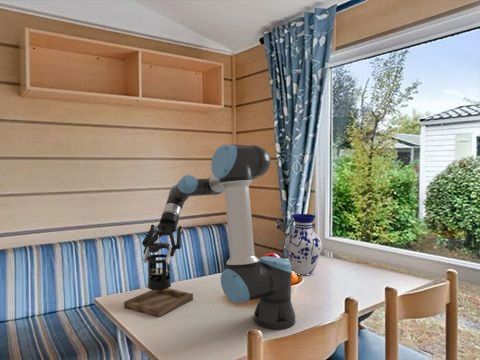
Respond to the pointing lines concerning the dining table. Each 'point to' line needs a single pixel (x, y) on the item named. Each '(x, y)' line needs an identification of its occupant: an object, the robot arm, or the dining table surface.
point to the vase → (303, 245)
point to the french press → (158, 275)
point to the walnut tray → (158, 301)
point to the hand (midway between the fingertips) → (155, 262)
